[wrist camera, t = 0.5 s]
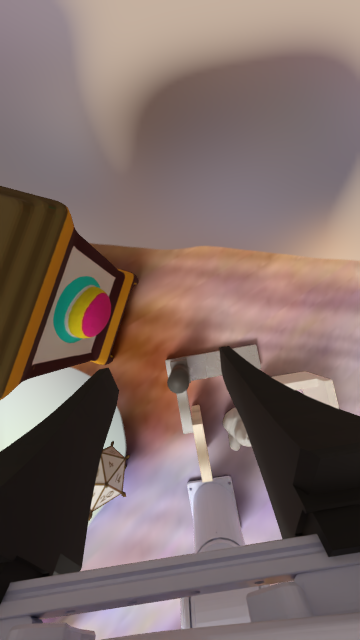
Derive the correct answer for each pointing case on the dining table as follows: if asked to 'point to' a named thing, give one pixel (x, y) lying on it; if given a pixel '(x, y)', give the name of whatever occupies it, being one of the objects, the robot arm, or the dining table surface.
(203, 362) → the rail
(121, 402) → the dining table surface
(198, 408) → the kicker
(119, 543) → the dining table surface
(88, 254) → the decorative lantern
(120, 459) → the game die
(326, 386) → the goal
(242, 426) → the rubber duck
